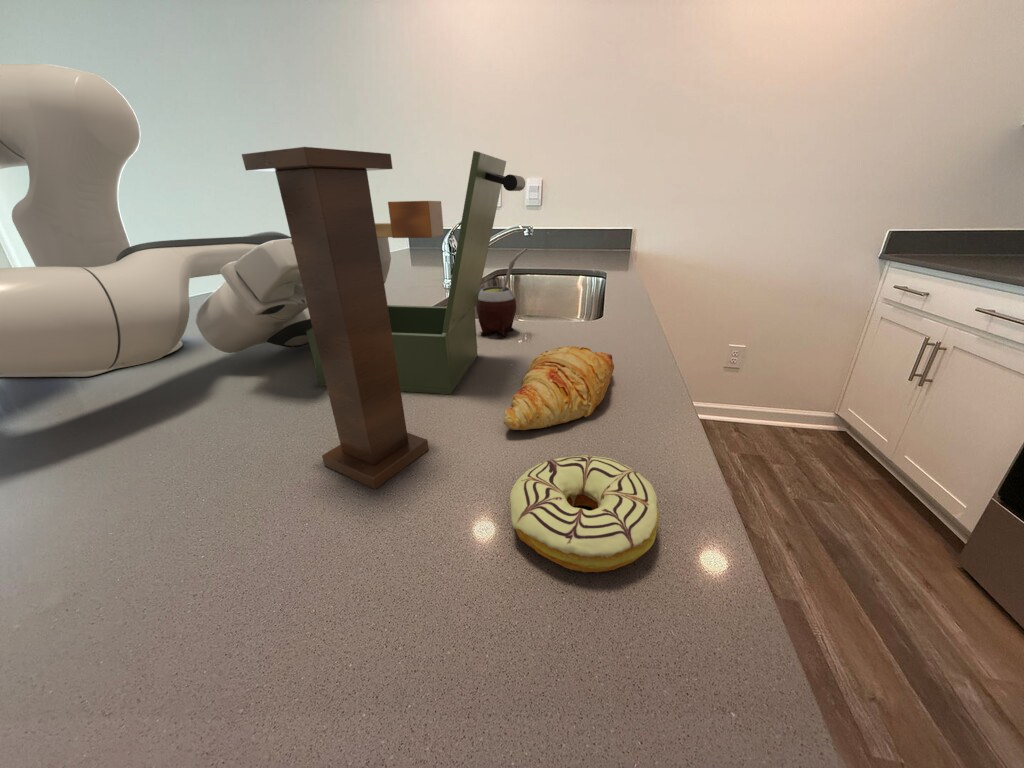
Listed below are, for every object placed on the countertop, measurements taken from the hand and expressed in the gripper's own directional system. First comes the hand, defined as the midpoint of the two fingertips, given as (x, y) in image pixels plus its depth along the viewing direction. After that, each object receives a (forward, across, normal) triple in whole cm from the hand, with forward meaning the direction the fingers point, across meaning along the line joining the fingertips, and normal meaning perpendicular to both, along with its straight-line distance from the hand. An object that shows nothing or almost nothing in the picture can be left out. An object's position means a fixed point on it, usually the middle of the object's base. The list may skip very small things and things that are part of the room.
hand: (355, 226), depth 51 cm
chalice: (-16, -17, -13) cm, 27 cm away
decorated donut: (+15, +26, -33) cm, 45 cm away
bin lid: (+12, 0, -9) cm, 15 cm away
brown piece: (+3, 0, -3) cm, 4 cm away
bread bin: (-7, -1, -19) cm, 20 cm away
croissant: (+13, +6, -31) cm, 34 cm away
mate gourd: (+2, -19, -24) cm, 31 cm away
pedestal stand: (-2, +20, -23) cm, 30 cm away
